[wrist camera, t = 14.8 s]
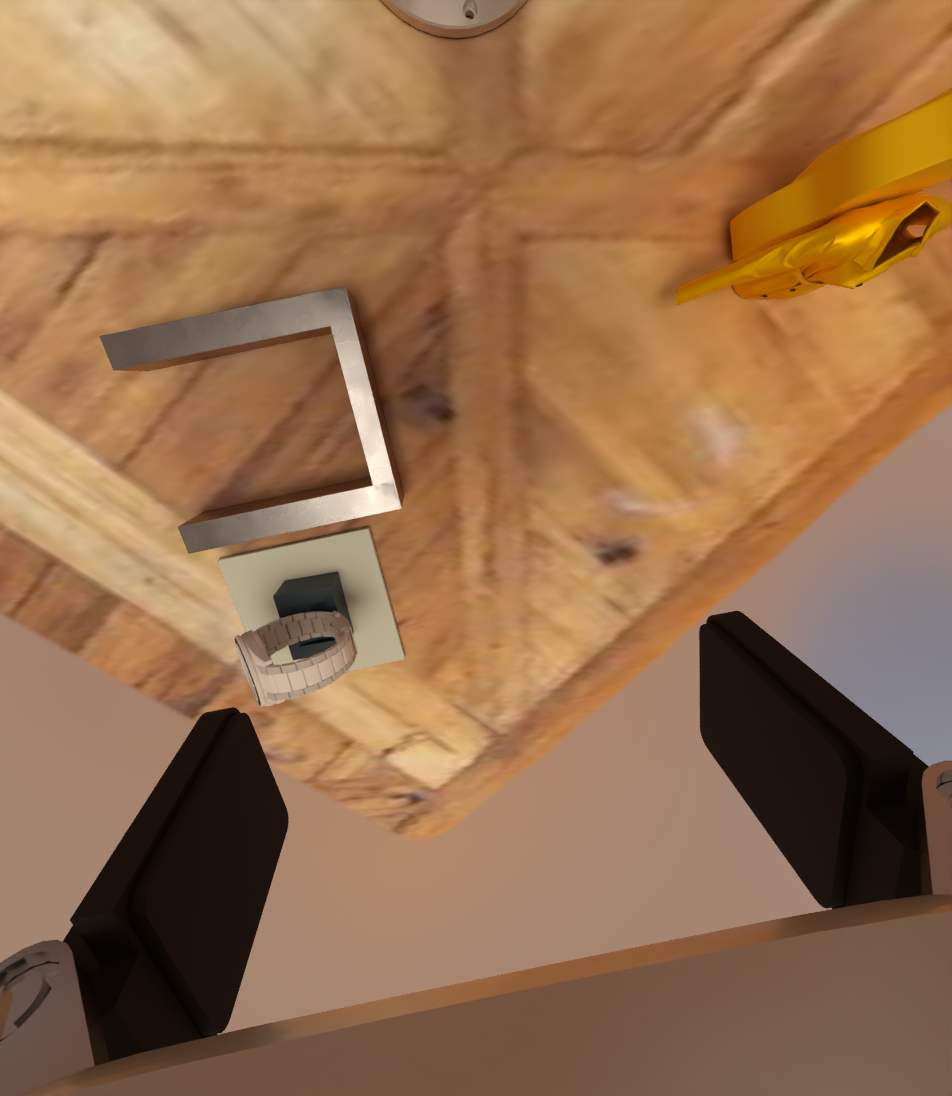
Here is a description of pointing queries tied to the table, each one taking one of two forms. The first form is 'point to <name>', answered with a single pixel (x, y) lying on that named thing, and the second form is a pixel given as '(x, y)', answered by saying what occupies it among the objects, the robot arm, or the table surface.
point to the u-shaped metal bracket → (266, 329)
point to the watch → (300, 640)
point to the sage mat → (344, 552)
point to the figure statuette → (843, 212)
